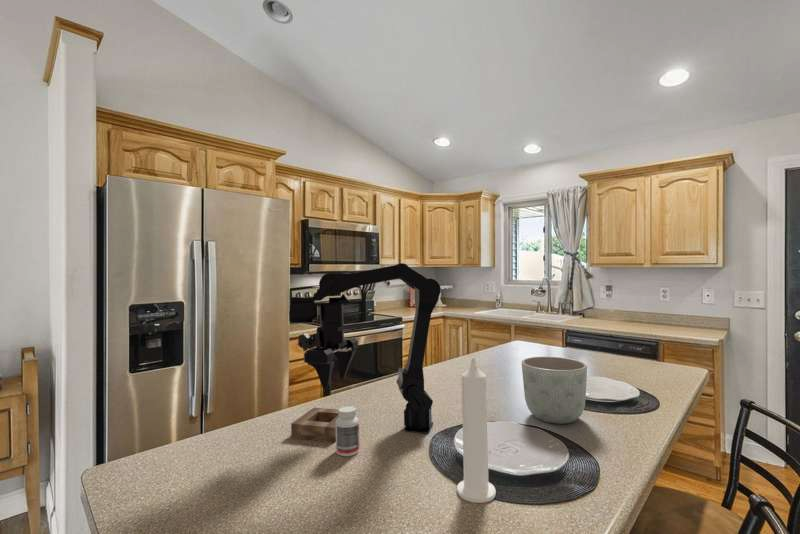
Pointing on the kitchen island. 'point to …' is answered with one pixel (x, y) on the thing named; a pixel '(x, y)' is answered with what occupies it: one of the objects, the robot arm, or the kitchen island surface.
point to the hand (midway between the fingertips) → (334, 383)
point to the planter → (555, 388)
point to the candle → (475, 438)
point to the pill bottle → (347, 432)
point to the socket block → (316, 425)
